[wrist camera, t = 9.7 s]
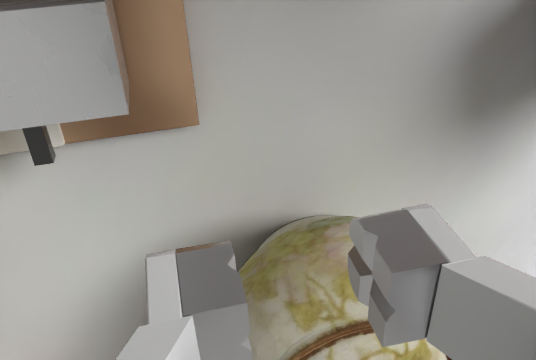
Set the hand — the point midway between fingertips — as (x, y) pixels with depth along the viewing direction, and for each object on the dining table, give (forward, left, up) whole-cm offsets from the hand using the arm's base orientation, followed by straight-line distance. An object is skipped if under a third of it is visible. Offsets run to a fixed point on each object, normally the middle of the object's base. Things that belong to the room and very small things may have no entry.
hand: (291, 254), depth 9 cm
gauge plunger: (-1, +7, -16) cm, 17 cm away
